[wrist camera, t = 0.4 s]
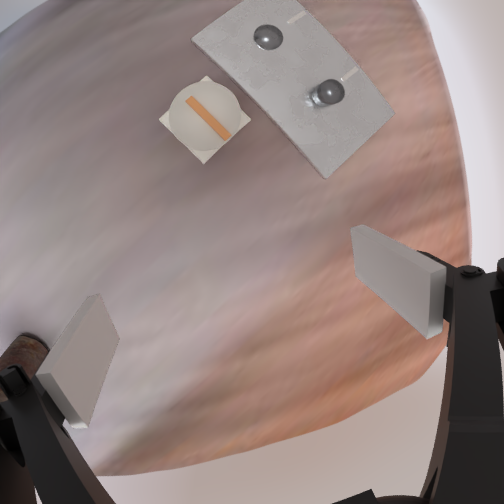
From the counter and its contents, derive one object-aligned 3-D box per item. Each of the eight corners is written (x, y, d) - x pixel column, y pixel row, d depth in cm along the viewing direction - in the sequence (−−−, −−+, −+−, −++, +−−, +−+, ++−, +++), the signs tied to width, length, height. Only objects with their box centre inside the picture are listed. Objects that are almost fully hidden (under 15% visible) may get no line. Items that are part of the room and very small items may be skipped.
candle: (16, 360, 40) (-34, 438, 21) (13, 325, 38) (-50, 403, 19) (53, 375, 42) (10, 463, 23) (52, 341, 40) (-3, 430, 21)
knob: (163, 123, 34) (153, 115, 27) (206, 83, 33) (206, 66, 26) (203, 163, 36) (203, 165, 29) (246, 123, 36) (256, 115, 28)
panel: (191, 42, 32) (190, 29, 28) (272, -15, 30) (280, -29, 26) (322, 178, 39) (335, 181, 35) (390, 114, 38) (407, 111, 34)
